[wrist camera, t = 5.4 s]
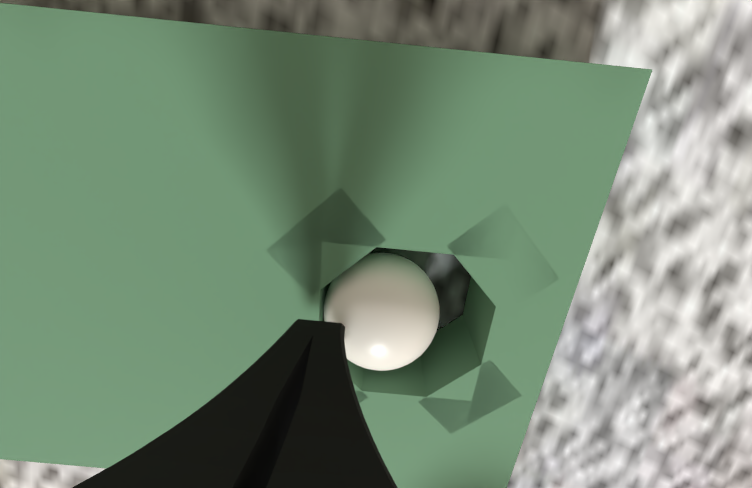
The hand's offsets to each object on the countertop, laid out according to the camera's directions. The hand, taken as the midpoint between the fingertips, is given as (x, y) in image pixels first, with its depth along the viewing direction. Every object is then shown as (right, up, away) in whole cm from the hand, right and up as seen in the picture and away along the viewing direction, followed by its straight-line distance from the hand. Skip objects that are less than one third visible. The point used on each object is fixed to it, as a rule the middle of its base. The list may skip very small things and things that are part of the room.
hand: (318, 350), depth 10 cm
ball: (+2, +1, +2) cm, 3 cm away
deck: (-3, +2, +4) cm, 6 cm away
